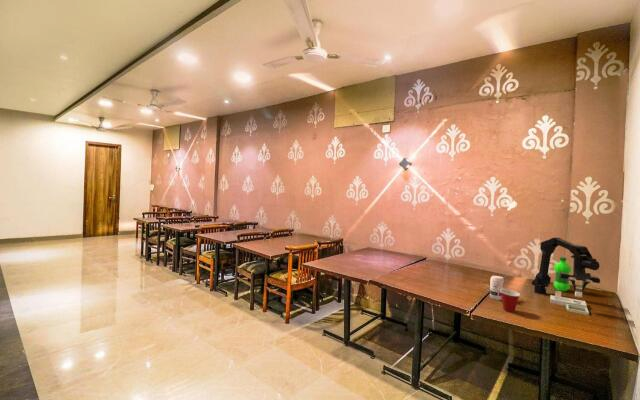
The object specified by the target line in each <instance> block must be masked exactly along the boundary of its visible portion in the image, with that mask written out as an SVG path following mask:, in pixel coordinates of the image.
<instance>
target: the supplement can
mask: <svg viewBox="0 0 640 400" xmlns="http://www.w3.org/2000/svg"><path fill="white" fill-rule="evenodd" d="M501 289H505V279H504V277H503V276H499V275H491V277H490V285H489V297H490V299H491V300H492V299H493V300H494V299H495V301H502V296H501V292H500V290H501Z"/></svg>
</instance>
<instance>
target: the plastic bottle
mask: <svg viewBox="0 0 640 400" xmlns="http://www.w3.org/2000/svg"><path fill="white" fill-rule="evenodd" d="M558 258H559V261H558V262H557V263H555V264H554V266H553V270H554V271H555V281H554V282H553V286H554V288H555V289H556V291H560V292H564V293H565V292H566V291H569V290H570V288H571V285H570V284H569V280H568V279H563V278H560V276H559V274H560V272H562V273H568V275H570V274H571V273H572V267H571V266H570V265H569V264H568V263H567V261H568V260H567V258H568V257H565V256H564V257H563V256H560V257H558Z"/></svg>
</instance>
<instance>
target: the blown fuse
mask: <svg viewBox="0 0 640 400" xmlns="http://www.w3.org/2000/svg"><path fill="white" fill-rule="evenodd" d="M575 286H576V291H575V290H574V297H575V298H579V299H582V298H583V292H582V284H581V285H579V284H575Z"/></svg>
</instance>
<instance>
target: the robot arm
mask: <svg viewBox="0 0 640 400" xmlns="http://www.w3.org/2000/svg"><path fill="white" fill-rule="evenodd" d="M539 246H540V247H539V248H540V251H541V253H542V254H541V260H540V264H539V271H538V273H537V274H536V275H535V277H534V279H533V280H532V281H531V285H532V286H534V289H533V290H534V291H533V293H534V294H537V295H544V296H545V295H546V296H547V288H548V287H549V285H550V283H551V278H552V277H551V276H550V275H549V268H550V262H551V258H552V254H553V253H554V252H555V251H556V248H557V247H561V248H564V249H566V250H568V251H569V252H570V254H572V255H571V256H570V258H572V259H573V269H572V271H573V272H572V274H569V275H568V273H562V272H560V274H559V276H560V278H563V279H568V280H569V281H570V282H571V284H572V287H573V290H574V292H575V291H576V286H575V285H576V281H582V283H581V286H582V293H583V292H584V290H585V288H586V286H588V284H591V282H592V283H594V284H596V283H597V284H600V283H601V279H600V277H598V276H595V275H592V274H591V273H590V272H587V271H586V269H588V270H591V271H598V270H599V269H600V263H599V261H597V258H595V257H593V256H592V254H591V252H590V251H589V249H588V247H587V246H586V245H585V246H584V245H580V244H575V243H572V242H569V241H567V240H565V239H562V238H561V237H551V238H549V239H546V240H544V241H541V242H540V244H539ZM546 287H547V288H546Z"/></svg>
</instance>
